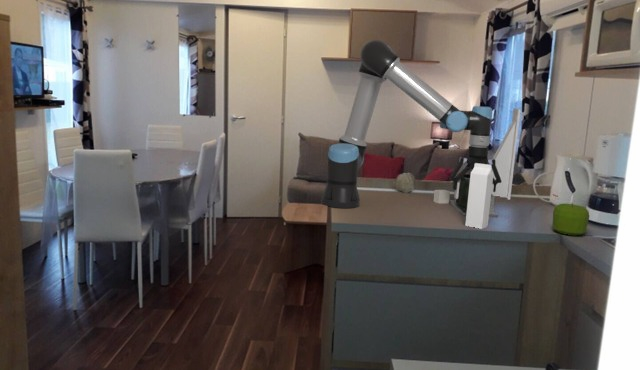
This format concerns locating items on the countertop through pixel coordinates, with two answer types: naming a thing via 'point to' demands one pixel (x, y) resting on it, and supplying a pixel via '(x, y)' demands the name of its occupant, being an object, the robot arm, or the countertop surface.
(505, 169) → the white slanted panel
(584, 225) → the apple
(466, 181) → the mug
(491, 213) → the grey storage bin
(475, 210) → the milk
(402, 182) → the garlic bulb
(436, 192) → the loose relay
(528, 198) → the countertop surface
